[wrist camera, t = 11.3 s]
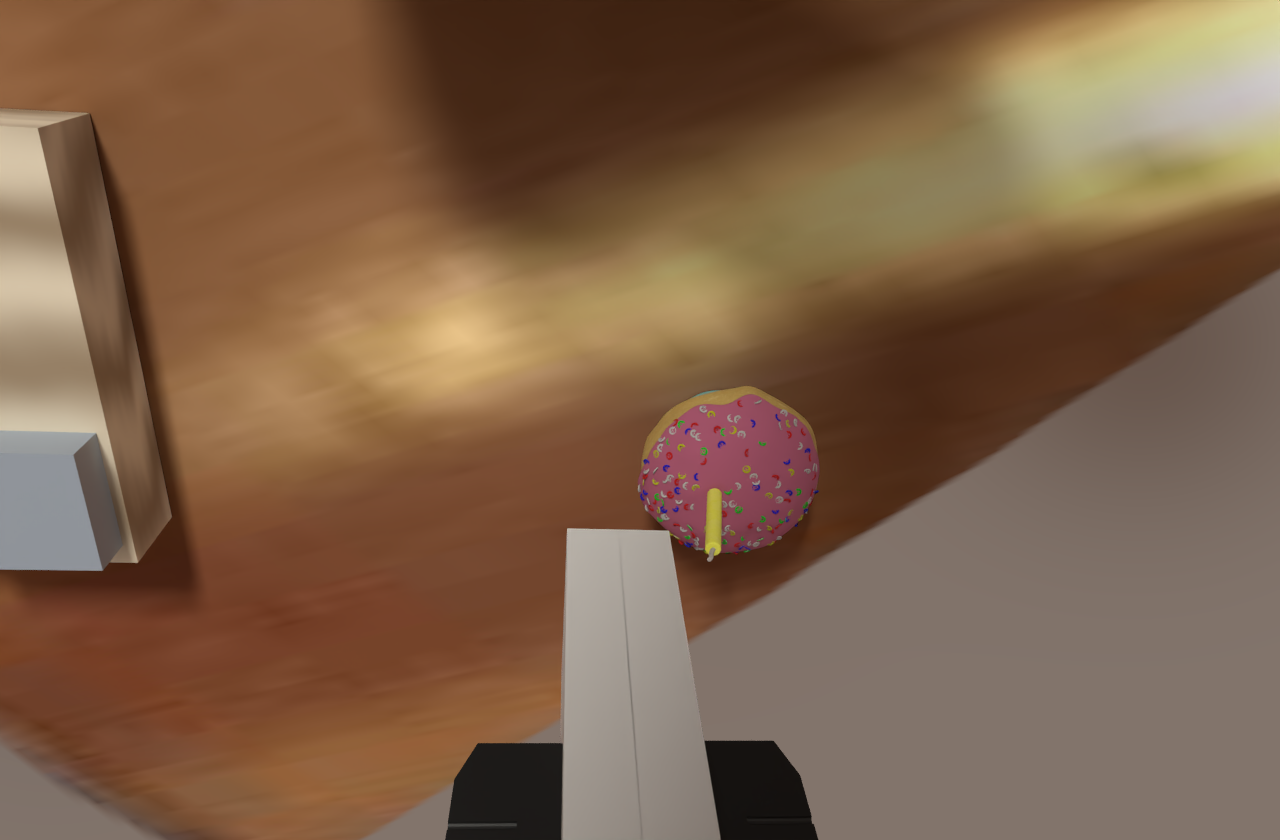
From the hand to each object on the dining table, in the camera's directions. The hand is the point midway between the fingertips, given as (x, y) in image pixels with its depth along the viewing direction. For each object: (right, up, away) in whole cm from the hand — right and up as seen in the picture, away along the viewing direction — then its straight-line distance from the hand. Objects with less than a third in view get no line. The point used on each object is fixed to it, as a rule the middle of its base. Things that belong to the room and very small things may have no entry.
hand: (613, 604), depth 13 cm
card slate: (-28, -1, +26) cm, 38 cm away
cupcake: (+4, +2, +32) cm, 33 cm away
